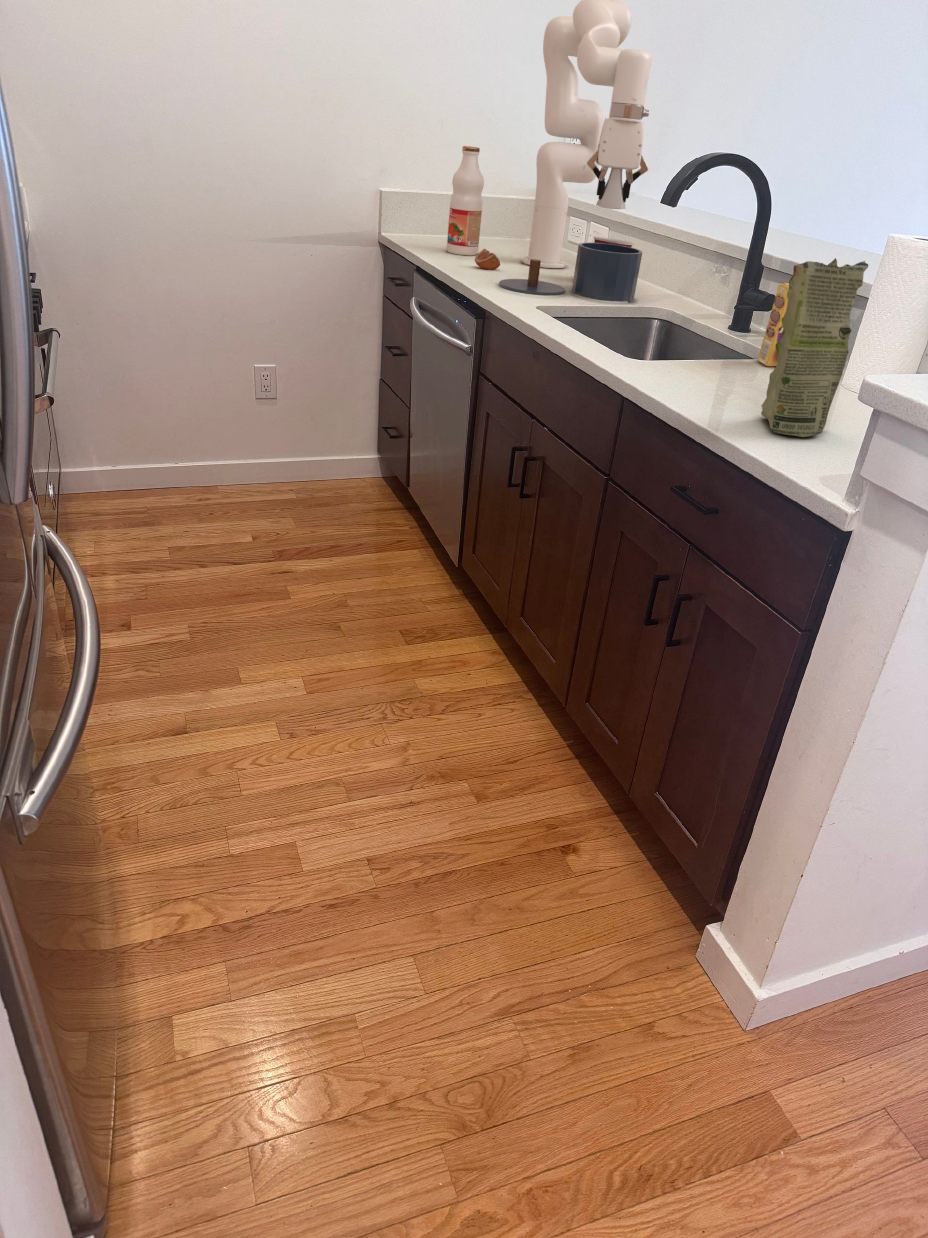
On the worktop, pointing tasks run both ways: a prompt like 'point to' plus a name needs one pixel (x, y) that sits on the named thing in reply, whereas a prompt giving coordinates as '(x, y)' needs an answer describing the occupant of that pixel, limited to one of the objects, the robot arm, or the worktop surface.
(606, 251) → the pot
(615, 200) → the flask
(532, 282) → the lid
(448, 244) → the fruit juice
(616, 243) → the plastic cup
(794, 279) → the pouch
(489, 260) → the fruit slice
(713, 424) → the worktop surface
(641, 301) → the worktop surface
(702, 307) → the worktop surface
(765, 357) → the candy box
